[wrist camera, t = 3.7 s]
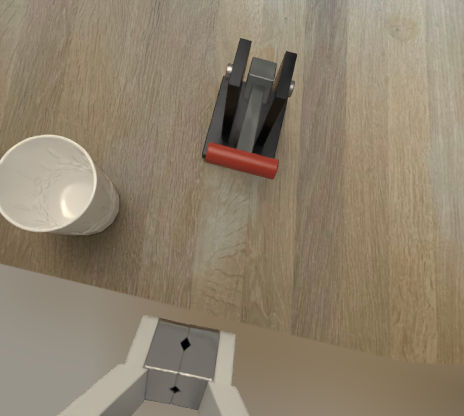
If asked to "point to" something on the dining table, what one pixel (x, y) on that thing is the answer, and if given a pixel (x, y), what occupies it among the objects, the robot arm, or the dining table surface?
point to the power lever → (249, 126)
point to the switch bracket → (234, 105)
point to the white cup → (55, 188)
